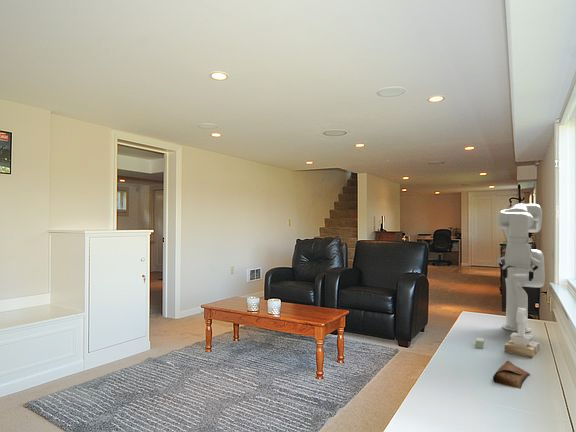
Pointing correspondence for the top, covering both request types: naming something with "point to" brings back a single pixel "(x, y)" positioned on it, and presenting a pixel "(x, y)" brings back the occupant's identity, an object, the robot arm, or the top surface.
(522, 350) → the oak pedestal
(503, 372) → the sunglasses case
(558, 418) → the top surface
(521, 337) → the figurine
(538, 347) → the brick slate
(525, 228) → the robot arm
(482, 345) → the brick sage
